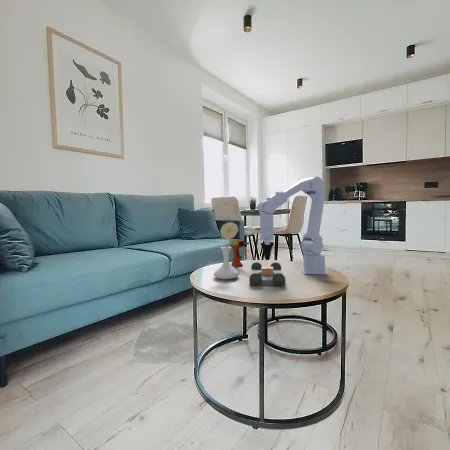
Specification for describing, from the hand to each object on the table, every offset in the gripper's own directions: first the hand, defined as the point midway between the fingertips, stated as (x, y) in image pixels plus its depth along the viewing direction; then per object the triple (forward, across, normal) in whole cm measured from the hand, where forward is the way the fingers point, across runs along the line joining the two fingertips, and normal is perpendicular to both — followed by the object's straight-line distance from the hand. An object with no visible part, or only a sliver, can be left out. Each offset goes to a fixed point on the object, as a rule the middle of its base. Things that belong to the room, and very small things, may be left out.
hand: (267, 258), depth 121 cm
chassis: (+8, +2, 0) cm, 9 cm away
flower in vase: (+9, +1, -17) cm, 19 cm away
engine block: (+8, +2, 0) cm, 9 cm away
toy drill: (+9, -23, -13) cm, 28 cm away
